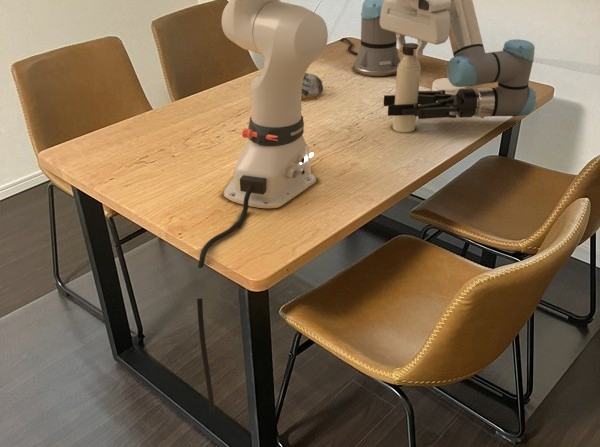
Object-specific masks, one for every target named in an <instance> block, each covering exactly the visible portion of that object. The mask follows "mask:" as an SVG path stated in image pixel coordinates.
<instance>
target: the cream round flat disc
mask: <svg viewBox="0 0 600 447" xmlns="http://www.w3.org/2000/svg"><path fill="white" fill-rule="evenodd" d="M465 88H467V87H455V86H453V85H452V84H451V83H450V81H449V79H448V77H441V78H437V79H435V80H434V81H433V82H432V87H431V91H440V90H445V91H446V92H445V94H451V95H456V94H457V92H458V90H459V89H465Z"/></svg>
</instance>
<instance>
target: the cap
mask: <svg viewBox="0 0 600 447" xmlns="http://www.w3.org/2000/svg"><path fill="white" fill-rule="evenodd" d="M418 45H419V44H418V43H414V42H406V44H404V45H403V52H401V53H402V54H403V56H405V55H409V56H413V54H414V49H417V47H418Z"/></svg>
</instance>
